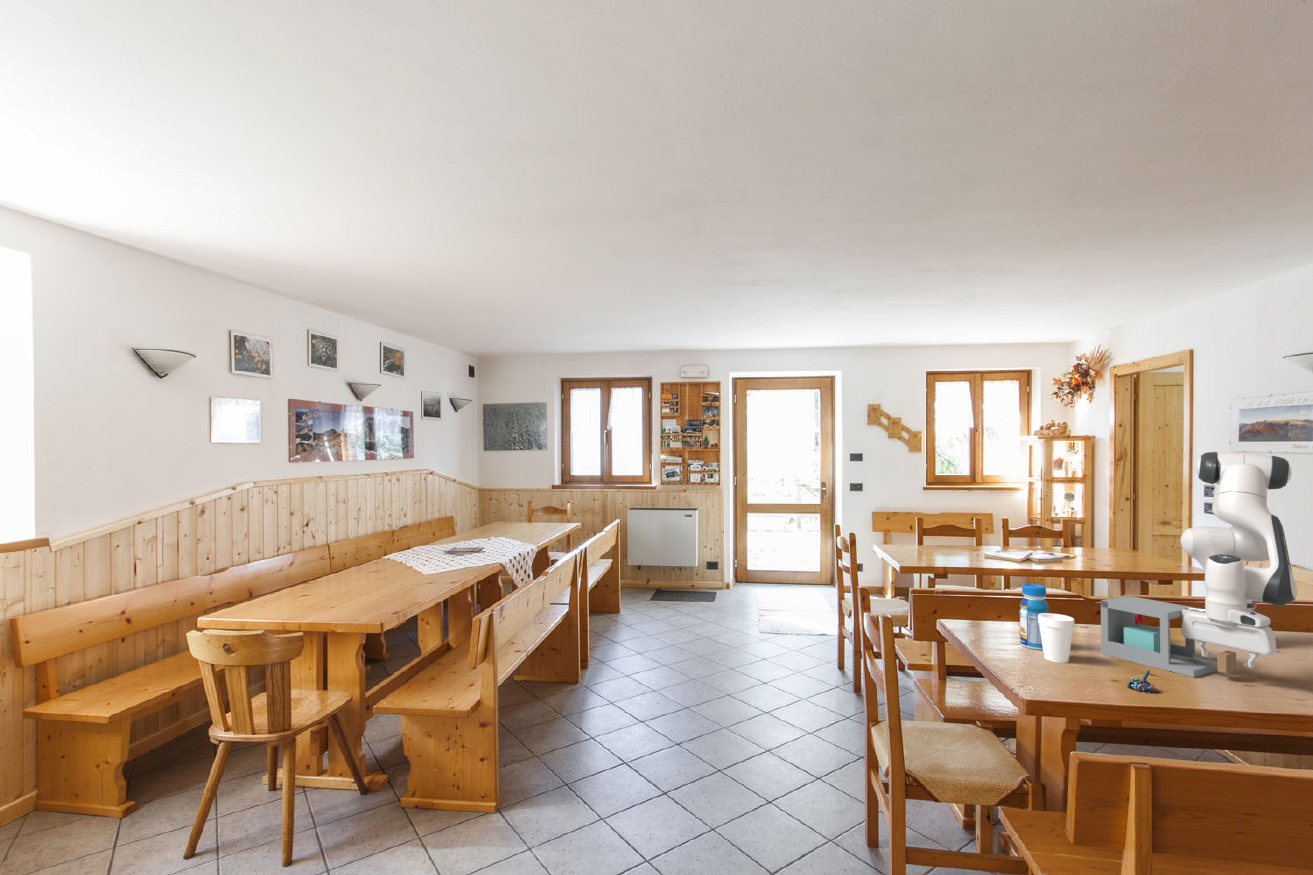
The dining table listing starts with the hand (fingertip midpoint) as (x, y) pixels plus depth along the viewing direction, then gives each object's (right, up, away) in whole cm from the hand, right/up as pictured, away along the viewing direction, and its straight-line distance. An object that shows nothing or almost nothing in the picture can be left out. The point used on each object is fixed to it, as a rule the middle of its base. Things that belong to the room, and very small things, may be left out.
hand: (1226, 661), depth 176 cm
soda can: (+1, -6, +37) cm, 37 cm away
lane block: (-5, -3, +10) cm, 12 cm away
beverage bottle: (-37, -6, +28) cm, 47 cm away
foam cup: (-38, -5, +15) cm, 42 cm away
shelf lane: (-8, -5, +15) cm, 17 cm away
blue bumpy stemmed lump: (-31, -5, -9) cm, 33 cm away
